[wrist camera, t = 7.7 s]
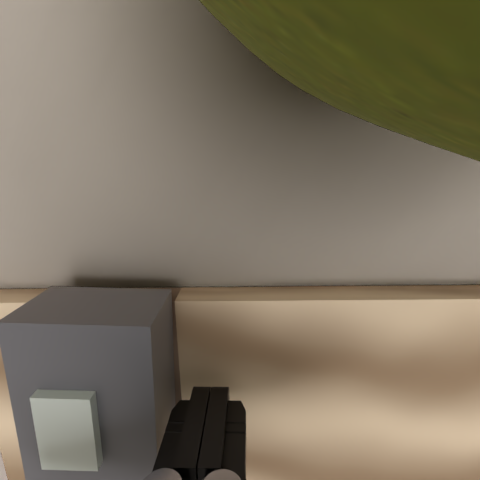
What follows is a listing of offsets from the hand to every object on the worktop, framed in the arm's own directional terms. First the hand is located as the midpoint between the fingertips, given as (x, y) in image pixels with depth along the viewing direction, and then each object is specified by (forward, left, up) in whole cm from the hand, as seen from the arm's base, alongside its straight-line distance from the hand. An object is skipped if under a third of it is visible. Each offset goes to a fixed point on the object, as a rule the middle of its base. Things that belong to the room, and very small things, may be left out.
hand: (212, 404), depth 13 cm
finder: (-1, -4, -1) cm, 4 cm away
